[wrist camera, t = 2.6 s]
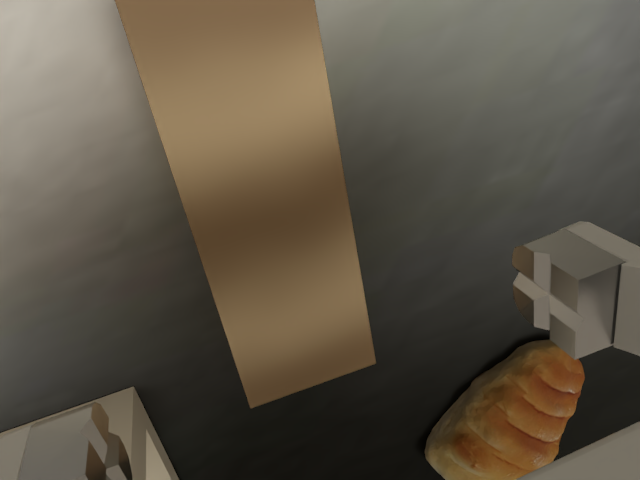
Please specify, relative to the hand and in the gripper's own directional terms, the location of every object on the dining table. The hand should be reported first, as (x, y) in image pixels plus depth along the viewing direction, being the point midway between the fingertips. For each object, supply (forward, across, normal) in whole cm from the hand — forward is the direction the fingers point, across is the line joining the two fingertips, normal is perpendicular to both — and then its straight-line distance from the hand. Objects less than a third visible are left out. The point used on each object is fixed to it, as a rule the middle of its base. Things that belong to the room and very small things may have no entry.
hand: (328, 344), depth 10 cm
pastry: (+11, -10, +17) cm, 23 cm away
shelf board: (+11, -1, +1) cm, 11 cm away
